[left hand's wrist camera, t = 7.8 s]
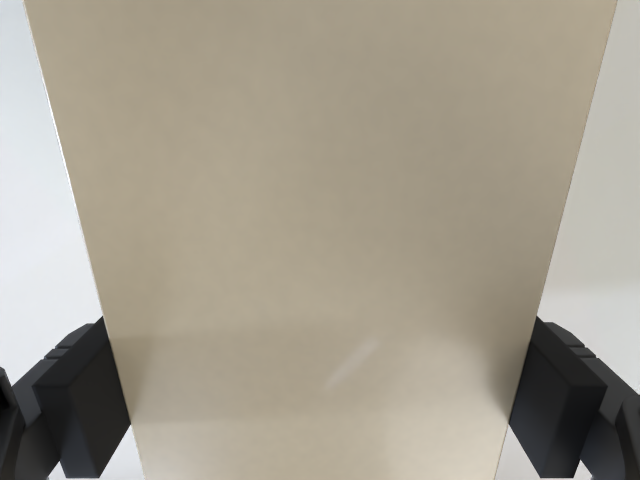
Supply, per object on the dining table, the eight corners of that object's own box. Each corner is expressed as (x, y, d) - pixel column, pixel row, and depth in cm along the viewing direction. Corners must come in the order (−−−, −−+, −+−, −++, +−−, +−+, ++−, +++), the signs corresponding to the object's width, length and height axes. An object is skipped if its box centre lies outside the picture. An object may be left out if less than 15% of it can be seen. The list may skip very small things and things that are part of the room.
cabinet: (183, -170, 13) (-252, -1048, 3) (456, -170, 13) (891, -1044, 3) (232, 302, 20) (147, 494, 10) (407, 302, 20) (491, 494, 10)
